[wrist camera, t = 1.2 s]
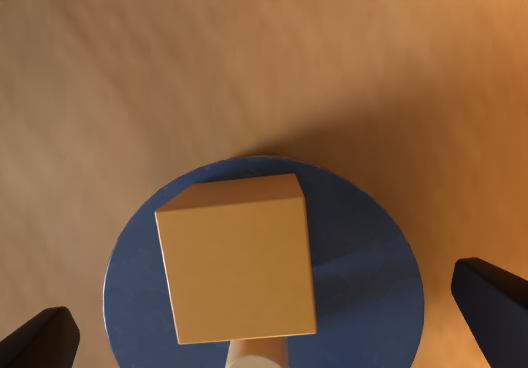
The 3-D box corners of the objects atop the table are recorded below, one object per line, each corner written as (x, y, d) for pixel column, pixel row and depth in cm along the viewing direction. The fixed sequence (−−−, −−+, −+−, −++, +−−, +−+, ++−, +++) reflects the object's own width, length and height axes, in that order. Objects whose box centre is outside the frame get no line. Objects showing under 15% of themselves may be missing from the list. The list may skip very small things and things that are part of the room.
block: (304, 270, 15) (318, 334, 10) (206, 279, 15) (177, 346, 10) (295, 172, 14) (304, 195, 9) (192, 184, 14) (153, 211, 10)
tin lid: (418, 421, 17) (478, 544, 12) (143, 438, 18) (92, 561, 13) (408, 137, 15) (480, 142, 10) (86, 173, 16) (-7, 196, 10)
